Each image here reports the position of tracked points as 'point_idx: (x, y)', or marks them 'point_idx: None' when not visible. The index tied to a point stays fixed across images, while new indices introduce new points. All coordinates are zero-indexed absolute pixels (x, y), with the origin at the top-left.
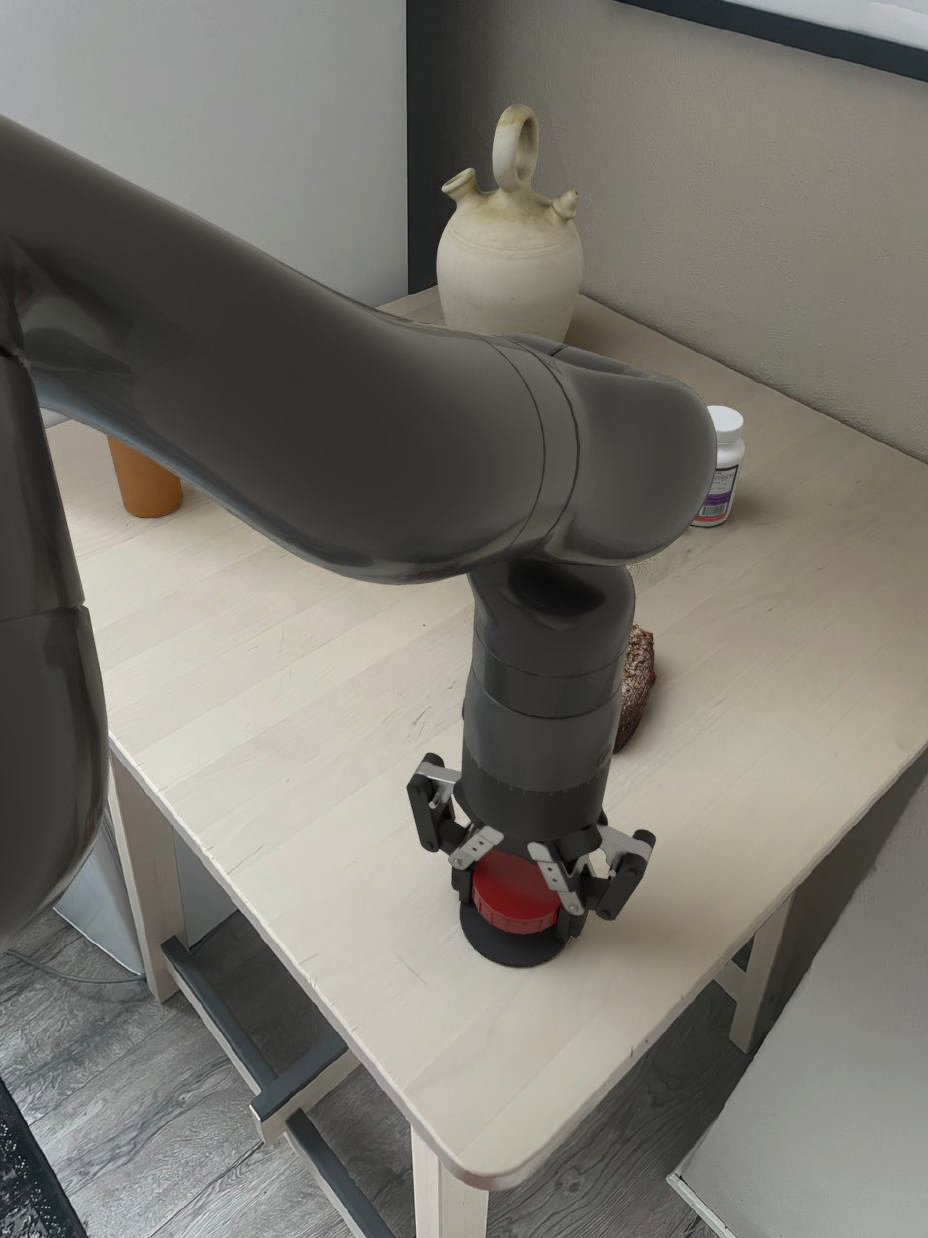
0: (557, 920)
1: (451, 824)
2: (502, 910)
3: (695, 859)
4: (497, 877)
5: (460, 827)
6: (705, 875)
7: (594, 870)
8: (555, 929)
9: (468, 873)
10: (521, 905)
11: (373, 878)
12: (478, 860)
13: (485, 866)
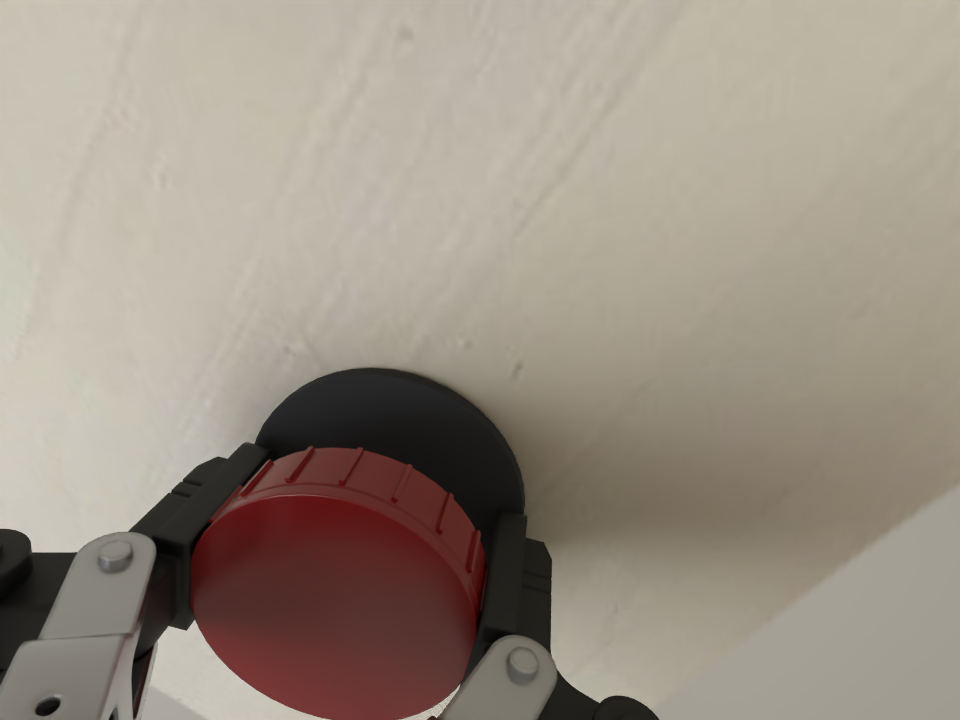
0: (481, 516)
1: (3, 624)
2: (306, 708)
3: (904, 256)
4: (262, 628)
5: (43, 615)
6: (925, 310)
7: (542, 708)
8: (480, 535)
9: (181, 625)
10: (351, 693)
11: (56, 448)
12: (191, 586)
13: (217, 602)
